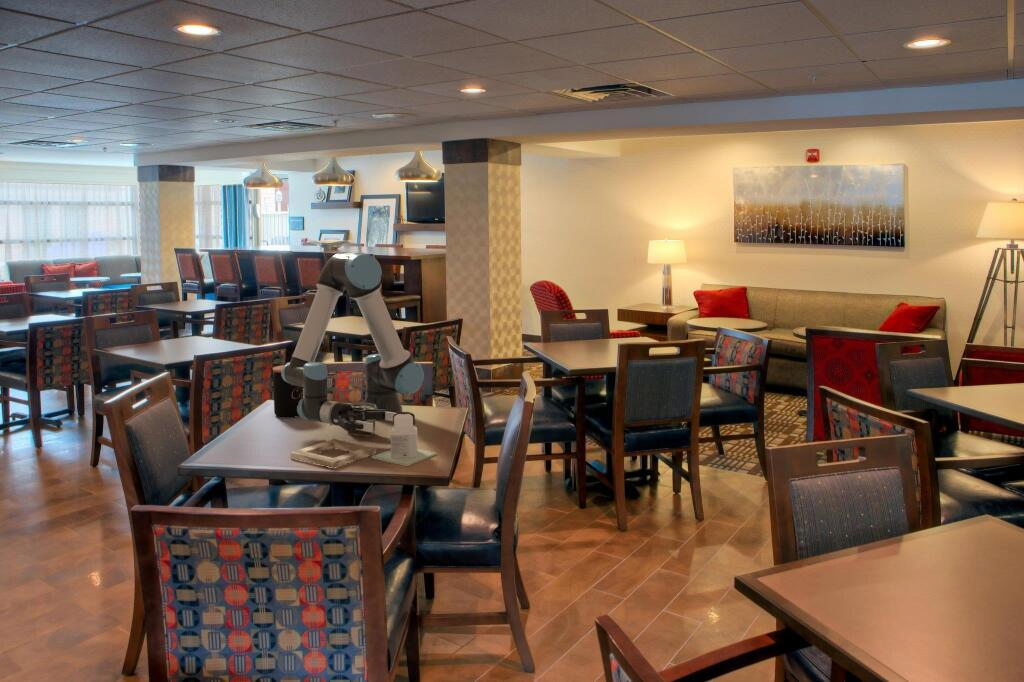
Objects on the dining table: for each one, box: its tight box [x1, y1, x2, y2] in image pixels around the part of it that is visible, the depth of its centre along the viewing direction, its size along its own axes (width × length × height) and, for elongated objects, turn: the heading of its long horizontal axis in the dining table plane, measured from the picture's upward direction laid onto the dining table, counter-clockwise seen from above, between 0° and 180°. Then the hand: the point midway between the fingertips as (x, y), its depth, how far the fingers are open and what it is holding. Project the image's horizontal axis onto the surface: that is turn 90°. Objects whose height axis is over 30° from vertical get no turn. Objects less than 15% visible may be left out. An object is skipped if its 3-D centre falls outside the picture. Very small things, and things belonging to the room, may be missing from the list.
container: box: [390, 411, 419, 458], centre depth 233 cm, size 8×8×13 cm
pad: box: [371, 448, 438, 467], centre depth 234 cm, size 14×14×1 cm
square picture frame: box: [290, 438, 377, 468], centre depth 233 cm, size 18×18×2 cm
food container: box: [347, 402, 377, 437], centre depth 260 cm, size 12×6×10 cm, turn 71°
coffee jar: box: [272, 364, 304, 418], centre depth 283 cm, size 11×11×18 cm
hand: (387, 423), depth 236 cm, fingers open, 13 cm apart
